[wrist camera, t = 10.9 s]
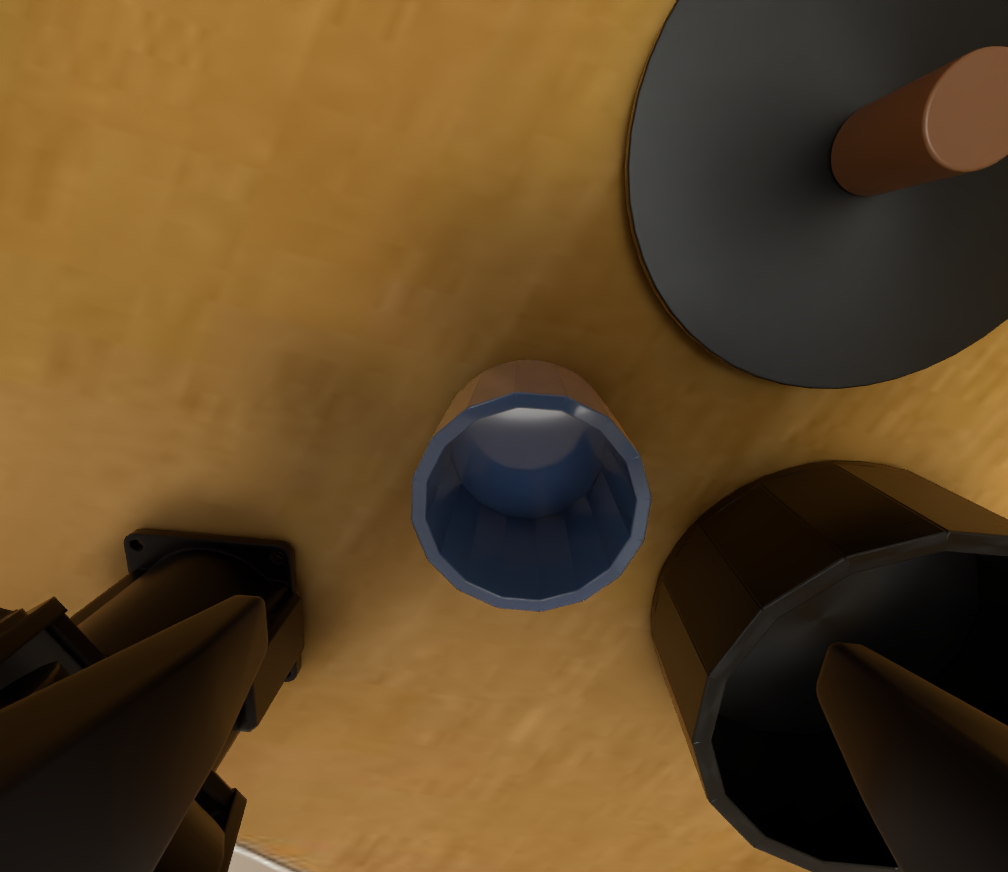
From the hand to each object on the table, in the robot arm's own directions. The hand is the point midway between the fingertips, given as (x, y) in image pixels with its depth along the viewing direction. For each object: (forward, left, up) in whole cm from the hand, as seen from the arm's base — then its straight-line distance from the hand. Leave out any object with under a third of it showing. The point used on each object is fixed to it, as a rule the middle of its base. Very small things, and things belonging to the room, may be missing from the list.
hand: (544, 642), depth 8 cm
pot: (+12, -6, -11) cm, 17 cm away
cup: (0, 0, -11) cm, 11 cm away
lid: (+9, +10, -10) cm, 17 cm away
